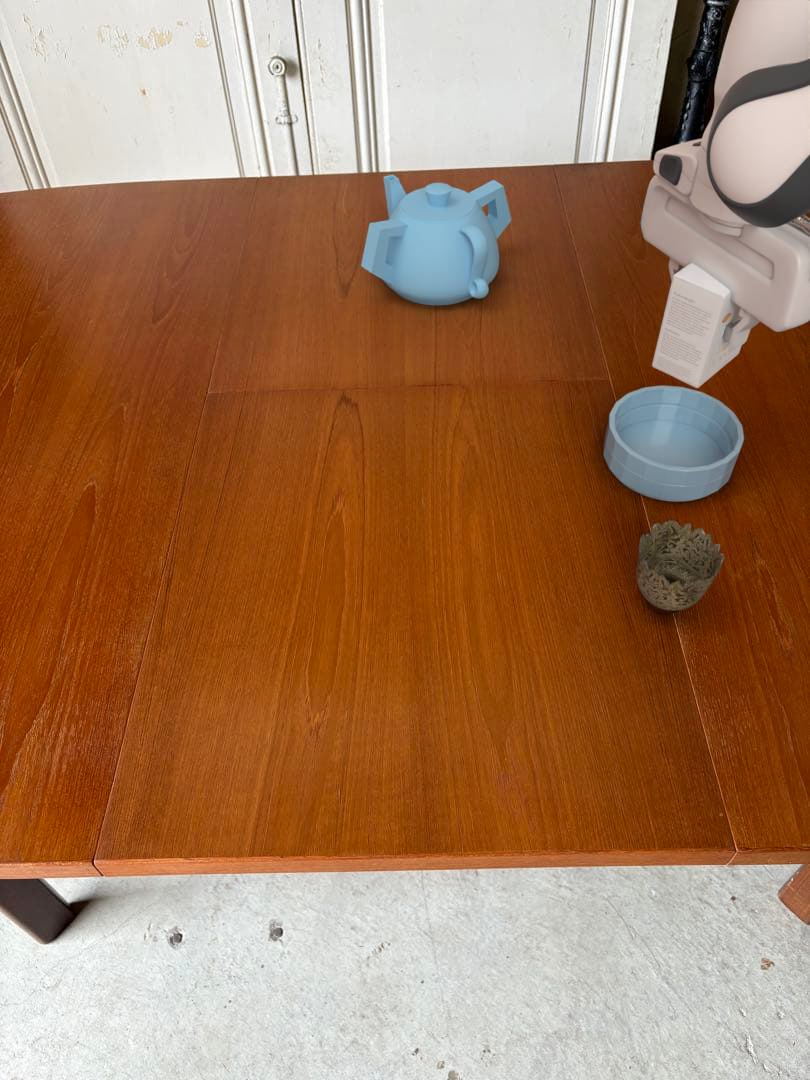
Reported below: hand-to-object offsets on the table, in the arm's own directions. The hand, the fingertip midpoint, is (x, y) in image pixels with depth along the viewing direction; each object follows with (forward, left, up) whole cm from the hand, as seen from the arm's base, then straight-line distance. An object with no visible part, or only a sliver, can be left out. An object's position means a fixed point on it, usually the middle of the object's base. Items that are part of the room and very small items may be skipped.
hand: (705, 321), depth 80 cm
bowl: (0, 0, -18) cm, 18 cm away
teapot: (+48, +5, -19) cm, 52 cm away
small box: (0, 0, -5) cm, 5 cm away
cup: (-16, +13, -19) cm, 28 cm away
